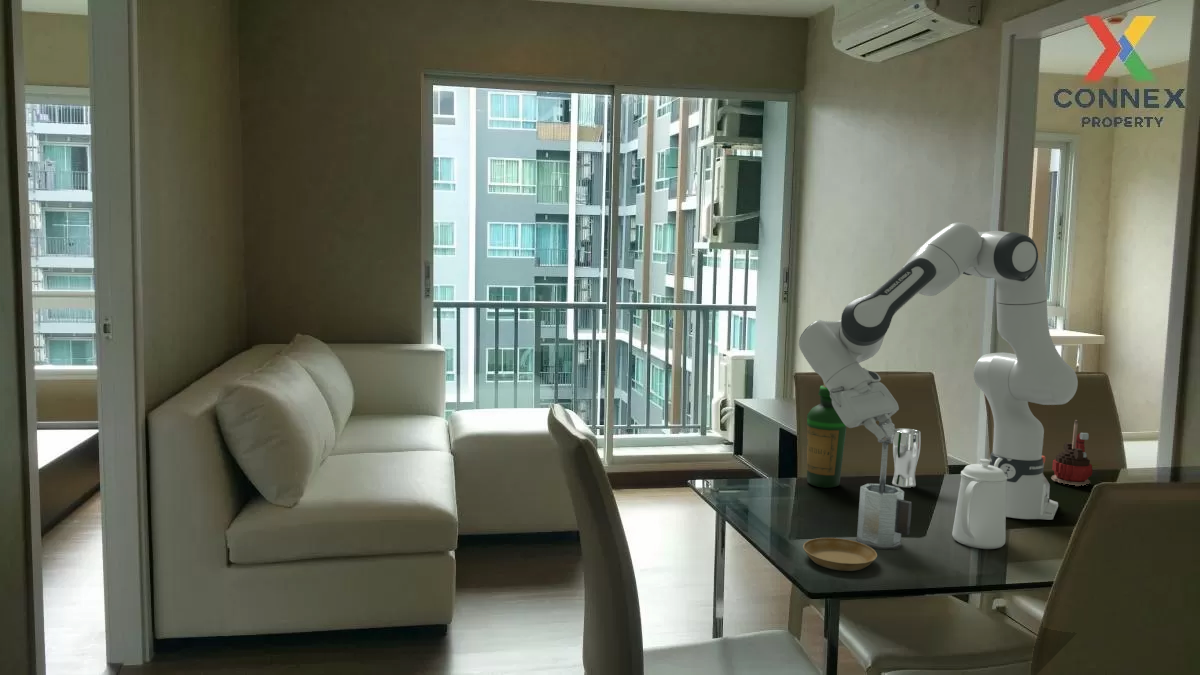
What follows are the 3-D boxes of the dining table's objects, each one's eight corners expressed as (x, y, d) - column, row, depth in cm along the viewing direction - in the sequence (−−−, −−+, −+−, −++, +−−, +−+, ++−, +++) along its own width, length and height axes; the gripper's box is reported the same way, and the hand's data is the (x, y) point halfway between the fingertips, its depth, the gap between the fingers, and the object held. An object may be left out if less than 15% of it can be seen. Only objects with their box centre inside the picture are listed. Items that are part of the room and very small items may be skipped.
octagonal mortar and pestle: (868, 532, 202) (872, 480, 201) (916, 545, 195) (920, 491, 193) (849, 541, 195) (852, 488, 194) (897, 555, 188) (901, 499, 187)
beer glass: (895, 479, 248) (898, 426, 247) (920, 484, 244) (924, 430, 243) (886, 485, 243) (890, 430, 241) (912, 489, 239) (917, 434, 237)
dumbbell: (875, 494, 198) (880, 420, 196) (898, 500, 195) (904, 424, 193) (864, 499, 194) (869, 423, 192) (887, 505, 191) (893, 427, 189)
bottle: (794, 480, 244) (800, 379, 241) (826, 477, 248) (833, 378, 245) (819, 491, 234) (825, 386, 231) (851, 488, 239) (858, 384, 235)
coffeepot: (1020, 533, 205) (1027, 453, 203) (987, 562, 186) (994, 474, 183) (971, 523, 212) (977, 445, 209) (934, 549, 192) (941, 464, 190)
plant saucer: (891, 571, 179) (892, 559, 179) (829, 578, 174) (829, 566, 174) (848, 546, 193) (848, 535, 193) (788, 552, 188) (789, 540, 188)
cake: (1046, 477, 257) (1051, 415, 255) (1080, 479, 255) (1086, 417, 253) (1059, 487, 246) (1065, 423, 244) (1095, 489, 245) (1102, 425, 243)
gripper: (836, 381, 189) (876, 434, 183) (880, 372, 204) (919, 421, 198) (816, 398, 192) (855, 451, 187) (861, 388, 207) (898, 437, 202)
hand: (888, 436), depth 193 cm, fingers closed on dumbbell, 3 cm apart
